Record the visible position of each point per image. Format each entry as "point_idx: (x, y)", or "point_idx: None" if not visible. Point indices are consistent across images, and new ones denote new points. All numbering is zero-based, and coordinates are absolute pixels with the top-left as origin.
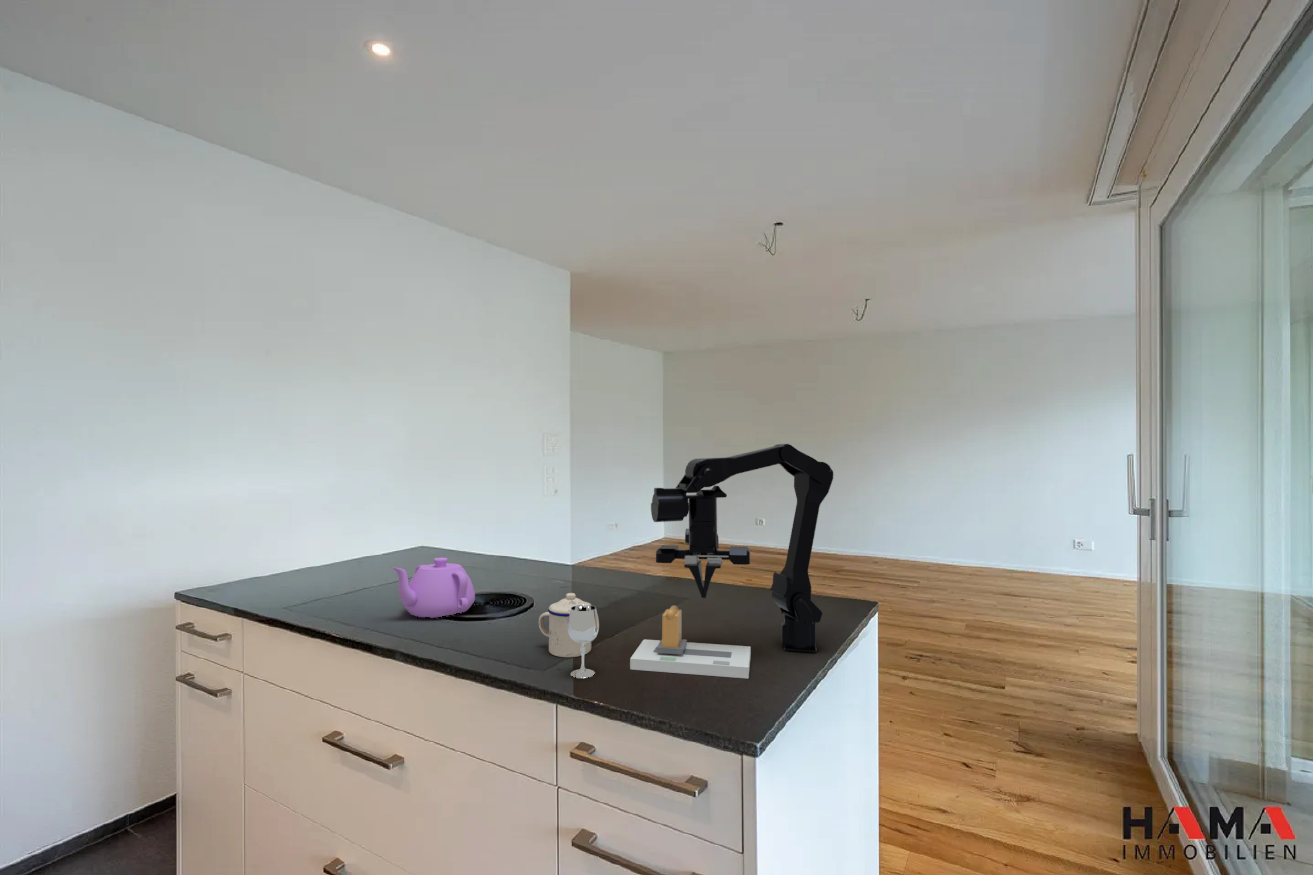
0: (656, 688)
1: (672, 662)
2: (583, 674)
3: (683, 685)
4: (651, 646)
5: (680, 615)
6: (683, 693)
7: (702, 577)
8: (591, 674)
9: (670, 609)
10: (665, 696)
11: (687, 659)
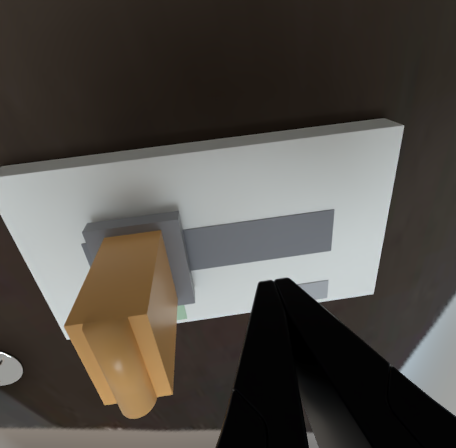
0: (181, 369)
1: (182, 320)
2: (4, 379)
3: (227, 344)
4: (62, 241)
5: (157, 324)
6: (236, 368)
7: (302, 424)
8: (18, 370)
9: (119, 393)
10: (209, 385)
11: (214, 298)
